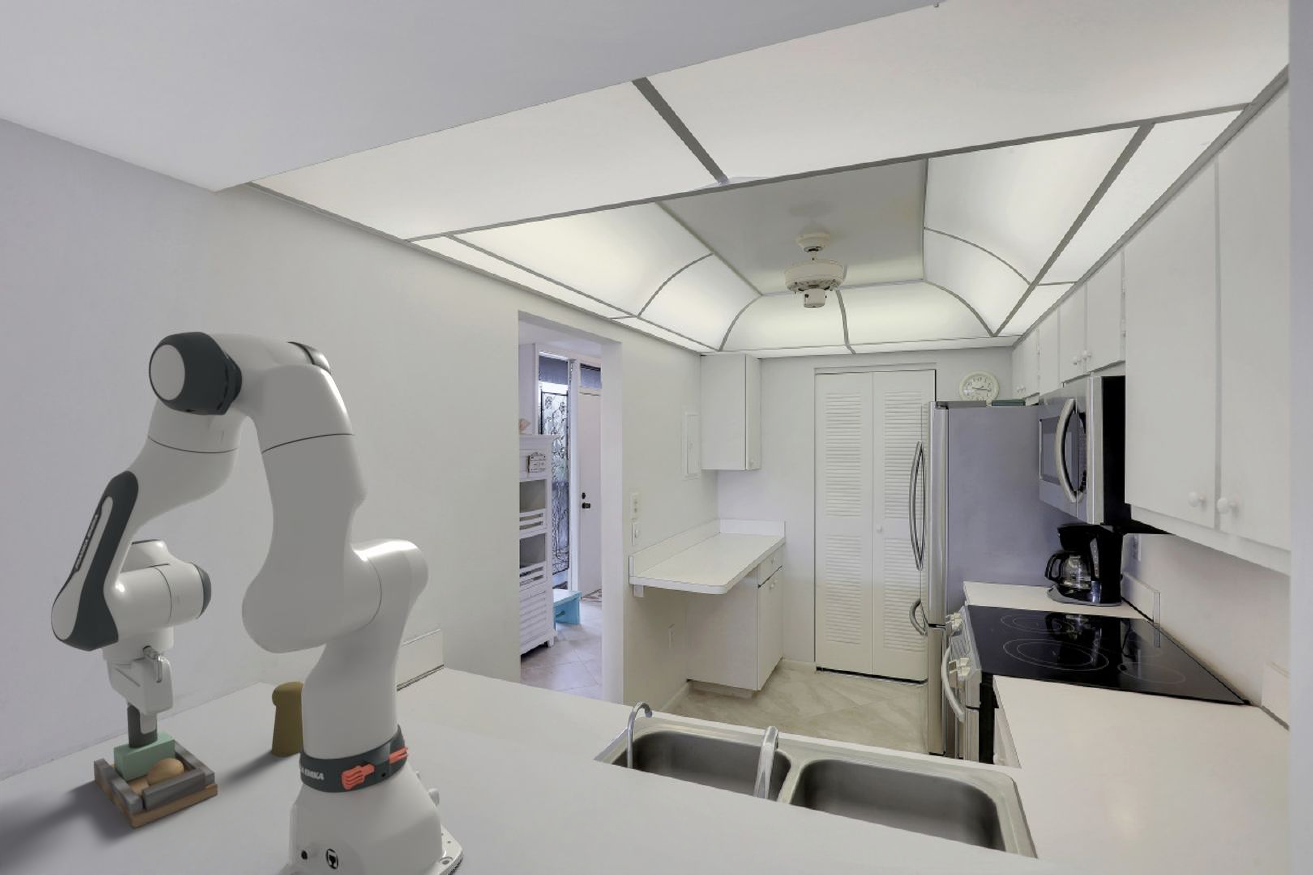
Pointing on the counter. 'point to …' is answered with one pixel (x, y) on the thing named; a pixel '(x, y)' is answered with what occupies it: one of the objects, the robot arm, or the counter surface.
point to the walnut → (164, 771)
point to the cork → (287, 719)
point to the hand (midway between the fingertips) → (142, 727)
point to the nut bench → (160, 811)
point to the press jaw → (141, 749)
